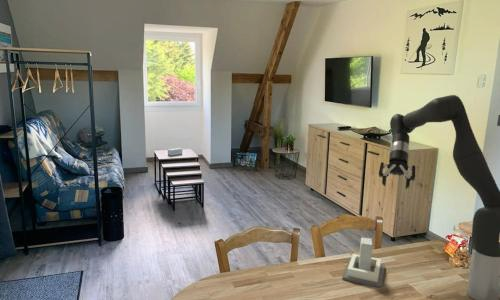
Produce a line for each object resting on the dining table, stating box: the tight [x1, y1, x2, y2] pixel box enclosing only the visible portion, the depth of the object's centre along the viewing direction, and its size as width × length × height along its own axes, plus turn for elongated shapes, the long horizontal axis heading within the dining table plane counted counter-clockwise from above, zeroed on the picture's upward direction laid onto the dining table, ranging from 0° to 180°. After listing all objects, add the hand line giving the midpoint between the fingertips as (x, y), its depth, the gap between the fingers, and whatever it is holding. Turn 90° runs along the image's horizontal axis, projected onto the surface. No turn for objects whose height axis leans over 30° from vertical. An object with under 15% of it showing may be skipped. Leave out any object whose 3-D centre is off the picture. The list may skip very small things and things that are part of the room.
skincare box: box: [359, 237, 373, 271], centre depth 149 cm, size 6×4×12 cm
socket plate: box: [341, 253, 386, 288], centre depth 149 cm, size 14×16×4 cm
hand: (395, 186), depth 158 cm, fingers open, 8 cm apart
